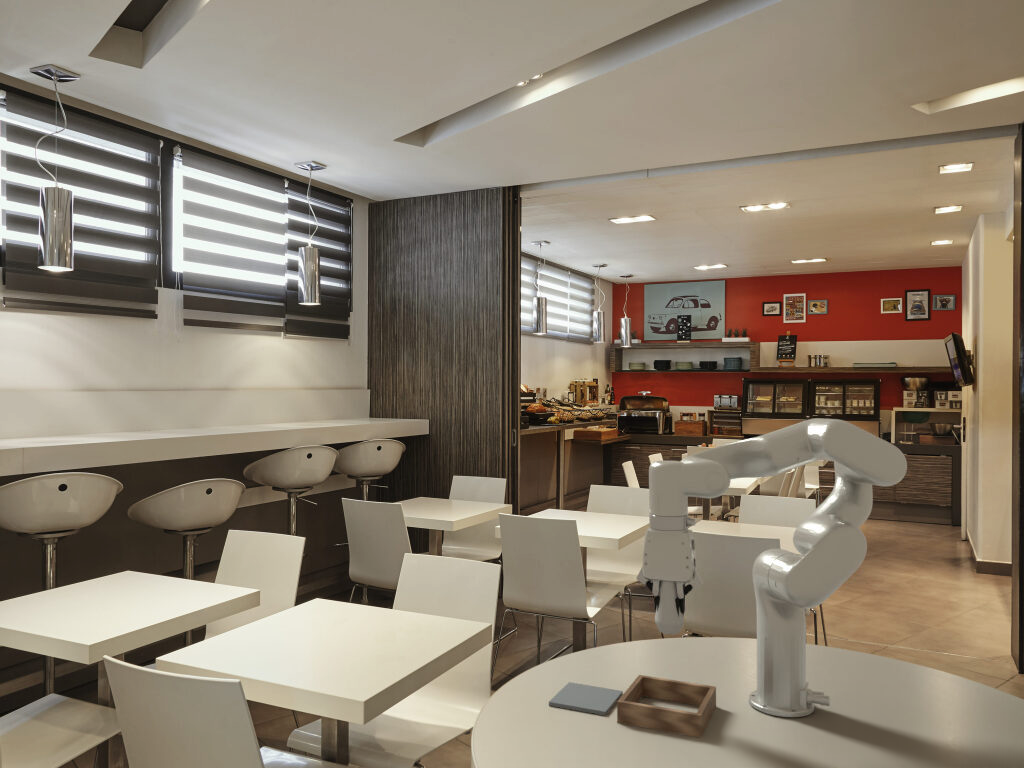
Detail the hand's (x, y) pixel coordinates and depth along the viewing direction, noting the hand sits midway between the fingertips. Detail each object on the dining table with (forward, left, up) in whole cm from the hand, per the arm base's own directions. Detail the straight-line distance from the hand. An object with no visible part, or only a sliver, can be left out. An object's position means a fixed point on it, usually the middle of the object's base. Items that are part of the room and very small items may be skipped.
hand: (669, 615), depth 155 cm
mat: (+17, 0, -20) cm, 26 cm away
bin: (0, 0, -20) cm, 20 cm away
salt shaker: (0, 0, -3) cm, 3 cm away
